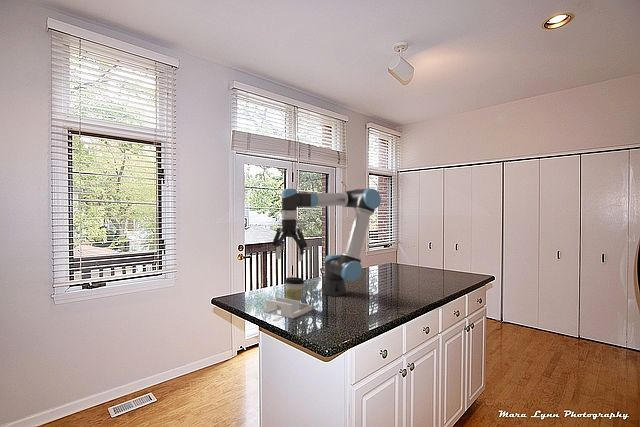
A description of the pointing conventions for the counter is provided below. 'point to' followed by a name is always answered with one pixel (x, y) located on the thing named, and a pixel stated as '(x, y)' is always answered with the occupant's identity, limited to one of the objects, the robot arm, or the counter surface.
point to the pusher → (295, 303)
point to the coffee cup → (294, 288)
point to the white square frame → (287, 308)
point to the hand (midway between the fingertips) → (289, 260)
